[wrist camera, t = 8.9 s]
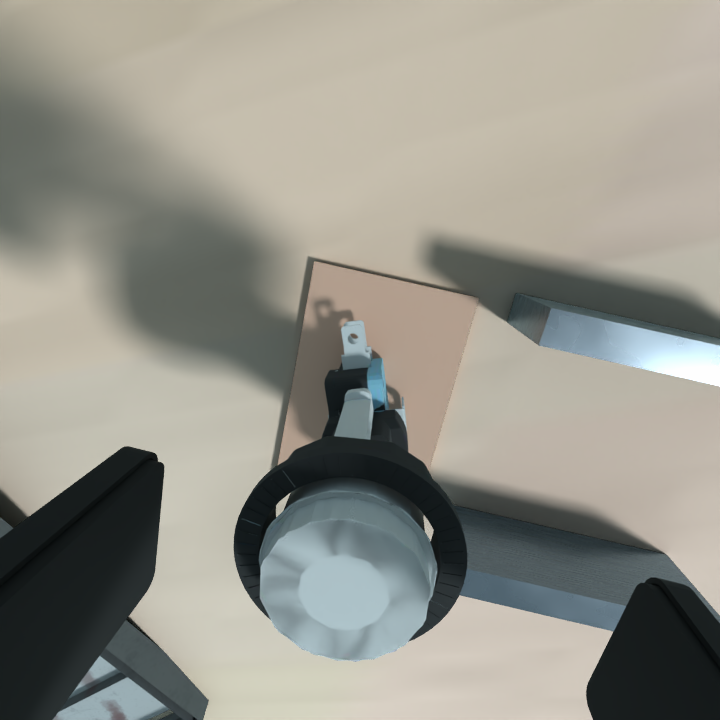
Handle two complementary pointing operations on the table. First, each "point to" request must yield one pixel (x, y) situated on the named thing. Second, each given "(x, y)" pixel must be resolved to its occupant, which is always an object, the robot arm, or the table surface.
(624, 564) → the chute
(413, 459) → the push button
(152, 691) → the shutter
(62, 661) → the robot arm
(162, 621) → the table surface
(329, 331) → the mat
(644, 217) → the table surface
